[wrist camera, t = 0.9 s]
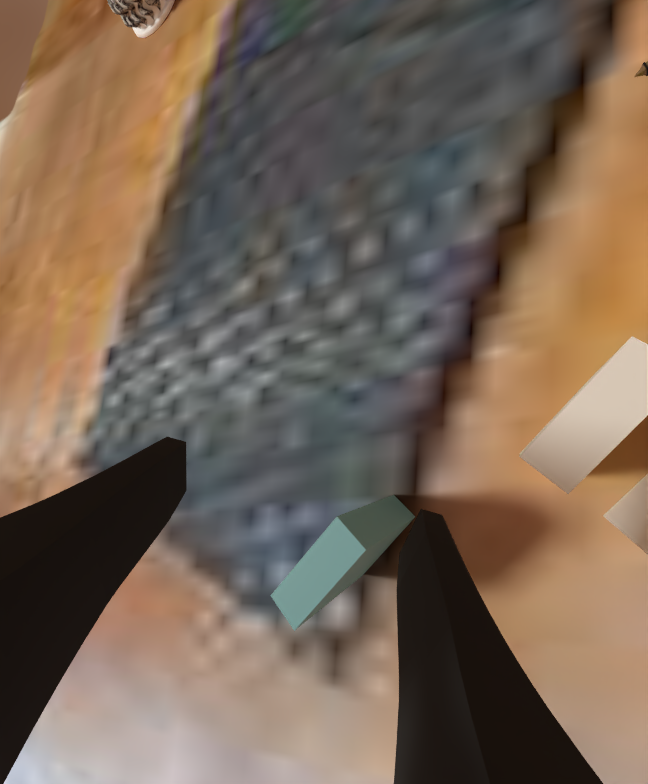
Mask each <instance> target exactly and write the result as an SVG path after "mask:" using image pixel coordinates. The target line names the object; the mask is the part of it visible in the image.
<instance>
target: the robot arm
mask: <svg viewBox="0 0 648 784" xmlns="http://www.w3.org/2000/svg"><path fill="white" fill-rule="evenodd" d="M185 492H186V442H184V441H181V440H177V439H174V438H170V437H166V438H164V439H162V440H160V441H158V442H156V443H154V444H153V445H151V446H149V447H147V448H145V449H143V450H142V451H140V452H138V453H136V454H134V455H132V456H131V457H129V458H127V459H125V460H123V461H121V462H120V463H118V464H116V465H114V466H112V467H110V468H108V469H106V470H104V471H102V472H101V473H99V474H97V475H95V476H93V477H91V478H89V479H87V480H85V481H83V482H80V483H78V484H76V485H74V486H72V487H70V488H68V489H66V490H64V491H62V492H60V493H58V494H56V495H53V496H51V497H49V498H47V499H45V500H42V501H40V502H38V503H35V504H33V505H31V506H28V507H26V508H23V509H21V510H18V511H16V512H13V513H11V514H8V515H6V516H3V517H1V518H0V784H3V783H4V781H5V780H6V778H7V776H8V774H9V772H10V770H11V768H12V767H13V765H14V763H15V761H16V759H17V757H18V755H19V754H20V752H21V750H22V748H23V746H24V744H25V743H26V741H27V739H28V737H29V735H30V733H31V731H32V730H33V728H34V726H35V724H36V723H37V721H38V719H39V717H40V716H41V714H42V712H43V710H44V708H45V707H46V705H47V703H48V701H49V700H50V698H51V696H52V694H53V693H54V691H55V689H56V687H57V686H58V684H59V682H60V680H61V679H62V677H63V675H64V674H65V672H66V670H67V669H68V667H69V665H70V664H71V662H72V660H73V659H74V657H75V655H76V654H77V652H78V650H79V649H80V647H81V645H82V644H83V642H84V640H85V639H86V637H87V636H88V634H89V632H90V631H91V629H92V628H93V626H94V624H95V623H96V621H97V620H98V618H99V616H100V615H101V613H102V612H103V610H104V608H105V607H106V605H107V604H108V602H109V601H110V599H111V598H112V596H113V595H114V594H115V592H116V591H117V589H118V588H119V587H120V585H121V584H122V583H123V581H124V580H125V579H126V577H127V576H128V575H129V573H130V572H131V571H132V569H133V568H134V567H135V565H136V564H137V563H138V561H139V560H140V559H141V557H142V556H143V555H144V553H145V552H146V551H147V549H148V548H149V547H150V545H151V544H152V543H153V541H154V540H155V539H156V537H157V536H158V535H159V533H160V532H161V531H162V529H163V528H164V526H165V525H166V524H167V522H168V521H169V519H170V518H171V516H172V514H173V513H174V511H175V509H176V508H177V506H178V504H179V502H180V501H181V499H182V497H183V495H184V494H185ZM397 622H398V655H399V710H398V728H397V746H396V761H395V776H394V784H603V783H602V781H601V780H600V779H599V777H598V776H597V775H596V773H595V772H594V771H593V769H592V768H591V767H590V765H589V764H588V763H587V761H586V760H585V759H584V757H583V756H582V755H581V753H580V752H579V750H578V749H577V748H576V746H575V745H574V743H573V742H572V741H571V739H570V738H569V736H568V735H567V734H566V732H565V731H564V730H563V728H562V727H561V725H560V724H559V723H558V721H557V720H556V718H555V717H554V716H553V714H552V713H551V711H550V710H549V709H548V707H547V706H546V704H545V703H544V701H543V700H542V698H541V697H540V695H539V694H538V692H537V691H536V689H535V688H534V686H533V685H532V683H531V682H530V680H529V679H528V677H527V675H526V674H525V672H524V671H523V669H522V667H521V666H520V664H519V663H518V661H517V660H516V658H515V656H514V655H513V653H512V651H511V650H510V648H509V646H508V645H507V643H506V641H505V639H504V638H503V636H502V634H501V633H500V631H499V629H498V627H497V625H496V624H495V622H494V620H493V618H492V616H491V615H490V613H489V611H488V609H487V607H486V605H485V604H484V602H483V600H482V598H481V596H480V594H479V592H478V590H477V588H476V586H475V584H474V582H473V580H472V578H471V576H470V574H469V572H468V570H467V568H466V566H465V564H464V562H463V560H462V557H461V555H460V553H459V551H458V549H457V547H456V544H455V542H454V540H453V538H452V536H451V533H450V531H449V529H448V527H447V524H446V522H445V520H444V518H443V516H442V515H440V514H437V513H433V512H430V511H426V510H423V509H421V510H420V512H419V514H418V516H417V518H416V520H415V522H414V524H413V527H412V529H411V531H410V533H409V535H408V537H407V539H406V541H405V543H404V545H403V547H402V550H401V552H400V556H399V567H398V579H397Z"/></svg>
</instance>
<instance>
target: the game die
mask: <svg viewBox="0 0 648 784" xmlns="http://www.w3.org/2000/svg"><path fill="white" fill-rule="evenodd" d="M643 75H646V76H648V62H646V63H645V62H644V63H643V65H642V67H641V68H640V70H639V71H638V73H637V74H636V75H635V77H637V76H643Z"/></svg>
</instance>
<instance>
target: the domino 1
mask: <svg viewBox="0 0 648 784" xmlns="http://www.w3.org/2000/svg"><path fill="white" fill-rule="evenodd" d="M414 518H415V516H414V515H413V514H412V513H411V512H410V511H409V510H408V509H407V508H406V507H405V506H404V505H403V504H402V503H401V502H400V501H399V500H398V499H397V498H396V497H395V496H394V495H392V496H389V497H387V498H384V499H381V500H379V501H376V502H374V503H371V504H368V505H366V506H363V507H361V508H358V509H355V510H353V511H350V512H348V513H345V514H342V515H340V516H337V517H336V518H335V520H334V521H333V522H332V523H331V524H330V525H329V527H328V528H327V529H326V530H325V531H324V533H323V534H322V535H321V536H320V537H319V539H318V540H317V541H316V542H315V543H314V545H313V546H312V547H311V548H310V549H309V551H308V552H307V553H306V554H305V555H304V557H303V558H302V559H301V560H300V561H299V562H298V564H297V565H296V566H295V567H294V568H293V570H292V571H291V572H290V573H289V574H288V576H287V577H286V578H285V579H284V580H283V582H282V583H281V584H280V585H279V586H278V588H277V589H276V590H275V591H274V592H273V593H272V595H271V597H272V598H273V600H274V601H275V603H276V604H277V606H278V607H279V609H280V610H281V612H282V613H283V615H284V616H285V618H286V619H287V621H288V622H289V624H290V625H291V627H292V628H293V629H294V631H295V630H296V629H297V628H298V627H300V626H301V625H302V624H303V623H305V622H306V621H307V620H308V619H309V618H311V617H312V616H313V615H314V614H316V613H317V612H318V611H319V610H320V609H322V608H323V607H324V606H325V605H327V604H328V603H329V602H330V601H332V600H333V599H334V598H335V597H336V596H338V595H339V594H340V593H341V592H343V591H344V590H345V589H346V588H347V587H349V586H350V585H351V584H352V583H354V582H355V581H356V580H357V579H359V578H360V577H361V576H362V575H363V574H364V573H365V572H366V571H367V570H368V569H369V568H370V567H371V566H372V564H373V563H374V562H375V561H376V560H377V559H378V558H379V557H380V556H381V554H382V553H383V552H384V551H385V550H386V549H387V548H388V547H389V546H390V544H391V543H392V542H393V541H394V540H395V539H396V538H397V537H398V536H399V534H400V533H401V532H402V531H403V530H404V529H405V528H406V527H407V526H408V525H409V523H410V522H411V521H412V520H413V519H414Z"/></svg>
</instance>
